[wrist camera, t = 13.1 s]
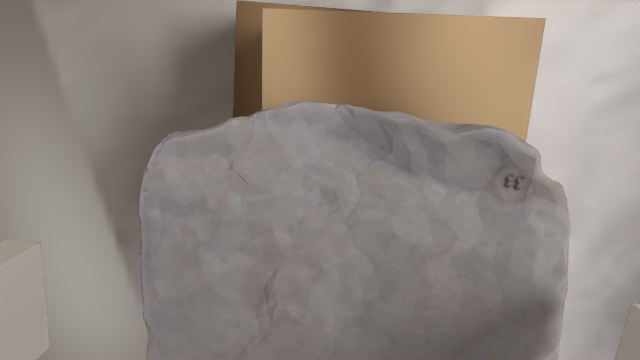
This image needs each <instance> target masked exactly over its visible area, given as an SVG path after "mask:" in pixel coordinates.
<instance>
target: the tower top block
mask: <svg viewBox="0 0 640 360" xmlns="http://www.w3.org/2000/svg"><path fill="white" fill-rule="evenodd" d="M545 20H546V18H521V17H493V16H465V15H438V14H410V13H382V12H354V11H326V10H298V9H271V8H263V23H262V110H265V109H269V108H274V107H277V106H279V105H282V104H285V103H288V102H291V101H309V102H320V103H328V104H335V105H351V106H354V107H363V108H367V109H370V110H374V111H379V112H391V111H398V112H402V113H407V114H409V115H412V116H415V117H418V118H421V119H428V120H435V121H442V122H448V123H458V124H479V125H489V126H494V127H498V128H501V129H506V130H507V131H509V132H510V133H512V134H515V135H516V136H517V137H519V138H520V139H522V140H523V141H525V142H526V136H527V130H528V124H529V118H530V112H531V105H532V99H533V93H534V87H535V81H536V75H537V69H538V63H539V56H540V50H541V44H542V38H543V32H544V26H545Z"/></svg>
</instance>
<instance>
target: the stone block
mask: <svg viewBox="0 0 640 360" xmlns="http://www.w3.org/2000/svg"><path fill="white" fill-rule="evenodd" d="M138 196H139V207H138V208H139V220H140V231H141V235H142V236H141V252H140V254H141V287H142V299H143V317H144V320H145V323H146V326H147V331H148V344H147V360H557V359H558V350H559V341H560V335H561V329H562V315H563V309H564V303H565V298H566V294H567V270H568V244H569V229H570V220H569V214H568V207H567V200H566V196H565V193H564V190H563V187H562V185H561V184H559V183H558V182H555V181H552V180H551V179H549V178H548V177H547V176H546V175H545V174H544V173H543V172H542V170H541V156H540V154H539V151H538V150H537V149H535V148H534V147H533V146H531V145H529V144H528V143H526V142H525V141H523V140H522V139H520V138H519V137H517V136H516V135H515V134H512V133H510V132H509V131H507V130H506V129H501V128H498V127H494V126H489V125H479V124H458V123H448V122H442V121H435V120H428V119H421V118H418V117H415V116H412V115H409V114H407V113H402V112H398V111H391V112H379V111H374V110H370V109H367V108H363V107H354V106H351V105H335V104H328V103H320V102H309V101H291V102H288V103H285V104H282V105H279V106H277V107H274V108H269V109H265V110H261V111H257V112H255V113H253V114H251V115H249V116H247V117H235V118H229V119H227V120H225V121H224V122H222V123H220V124H218V125H216V126H213V127H208V128H204V129H191V130H183V131H177V132H175V133H172V134H168V135H167V136H166V137H164V138H163V139H162V141H161V142H160V144H159V145H158V146H157V147H156V148H155V149H154V151H153V154H152V156H151V158H150V159H149V161H148V163H147V165H146V167H145V169H144V172H143V177H142V182H141V185H140V189H139V193H138Z"/></svg>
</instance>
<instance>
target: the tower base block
mask: <svg viewBox="0 0 640 360" xmlns="http://www.w3.org/2000/svg"><path fill="white" fill-rule="evenodd" d="M263 8H271V9H298V10H326V11H354V12H373V11H360V10H348V9H336V8H323V7H311V6H298V5H286V4H274V3H261V2H249V1H237V9H236V43H235V77H234V111H233V118H235V117H247V116H249V115H251V114H253V113H255V112H257V111H261V110H262V23H263ZM382 13H385V12H382Z"/></svg>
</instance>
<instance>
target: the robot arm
mask: <svg viewBox="0 0 640 360" xmlns="http://www.w3.org/2000/svg"><path fill="white" fill-rule="evenodd" d="M49 347H50V344H49V333H48V322H47V312H46V301H45V290H44V280H43V268H42V258H41V247H40V242H33V241H24V240H14V239H6V240H4V241H2V242H0V360H37V359H38V358H39V357H40V356H41V355H42V354H43V353H44V352H45V351H46V350H47V349H48V348H49ZM615 360H640V304H638V303H632V304H631V308H630V311H629V314H628V318H627V321H626V324H625V327H624V331H623V334H622V337H621V341H620V344H619V347H618V351H617V354H616V357H615Z"/></svg>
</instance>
